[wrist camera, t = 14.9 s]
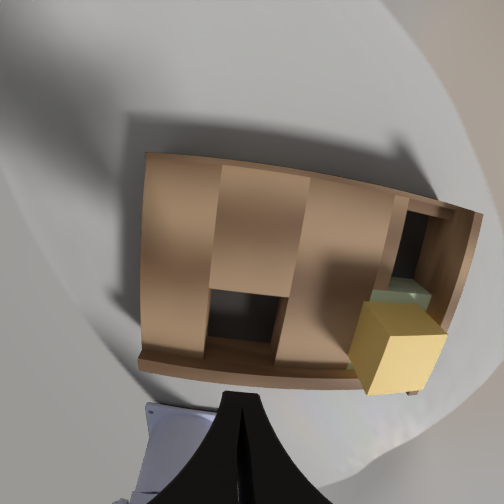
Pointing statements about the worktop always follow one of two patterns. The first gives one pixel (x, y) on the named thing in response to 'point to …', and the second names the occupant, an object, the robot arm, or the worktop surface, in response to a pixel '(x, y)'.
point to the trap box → (283, 268)
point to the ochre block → (395, 347)
